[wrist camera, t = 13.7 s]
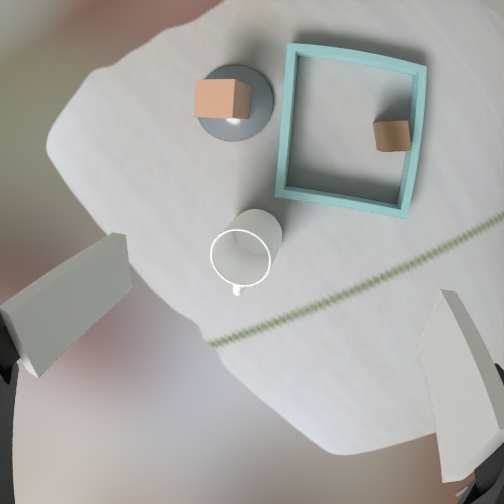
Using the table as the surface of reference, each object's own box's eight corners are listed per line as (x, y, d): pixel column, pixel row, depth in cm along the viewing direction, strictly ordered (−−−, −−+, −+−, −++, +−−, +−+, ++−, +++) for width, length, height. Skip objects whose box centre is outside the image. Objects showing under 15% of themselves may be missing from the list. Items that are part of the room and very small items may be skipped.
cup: (288, 215, 46) (277, 238, 37) (272, 281, 51) (258, 315, 42) (237, 202, 47) (214, 221, 38) (226, 268, 52) (204, 298, 44)
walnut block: (399, 121, 36) (407, 120, 32) (402, 148, 38) (411, 150, 33) (373, 122, 37) (378, 121, 33) (376, 149, 39) (382, 152, 34)
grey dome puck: (276, 66, 37) (275, 66, 37) (270, 144, 42) (269, 144, 42) (199, 66, 40) (197, 66, 39) (194, 139, 45) (193, 139, 44)
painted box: (217, 86, 40) (195, 79, 33) (251, 86, 39) (234, 79, 32) (215, 117, 42) (193, 117, 35) (248, 119, 41) (232, 117, 34)
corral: (420, 70, 32) (426, 66, 29) (402, 213, 41) (406, 219, 39) (289, 48, 36) (287, 42, 33) (277, 192, 45) (274, 197, 42)
